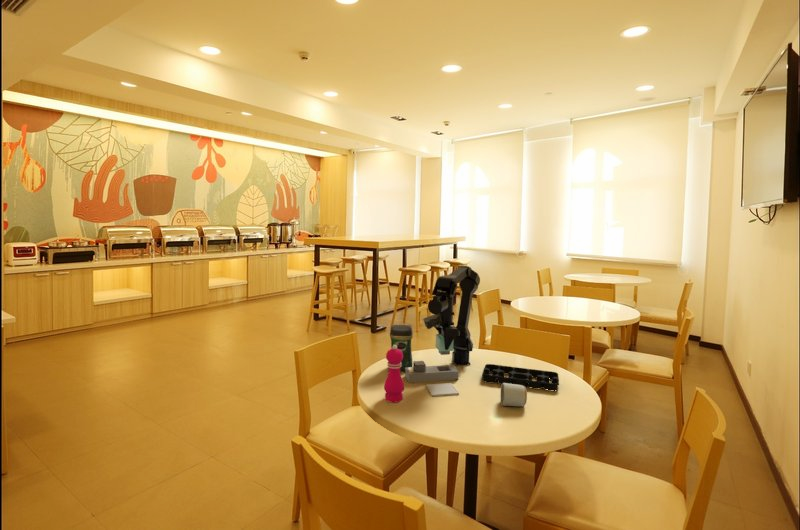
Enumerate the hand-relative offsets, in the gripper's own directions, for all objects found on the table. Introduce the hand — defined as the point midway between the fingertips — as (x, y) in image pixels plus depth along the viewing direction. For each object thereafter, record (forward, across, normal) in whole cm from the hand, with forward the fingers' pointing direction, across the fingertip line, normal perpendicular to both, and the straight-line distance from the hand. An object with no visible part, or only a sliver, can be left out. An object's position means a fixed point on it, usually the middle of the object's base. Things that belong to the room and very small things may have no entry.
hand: (444, 347), depth 181 cm
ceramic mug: (+13, +26, +17) cm, 33 cm away
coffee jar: (+13, -12, -15) cm, 23 cm away
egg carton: (+13, +8, +29) cm, 33 cm away
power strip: (+12, 0, -5) cm, 13 cm away
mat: (+12, +12, -4) cm, 18 cm away
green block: (+2, 0, 0) cm, 2 cm away
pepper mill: (+13, +16, -23) cm, 31 cm away
